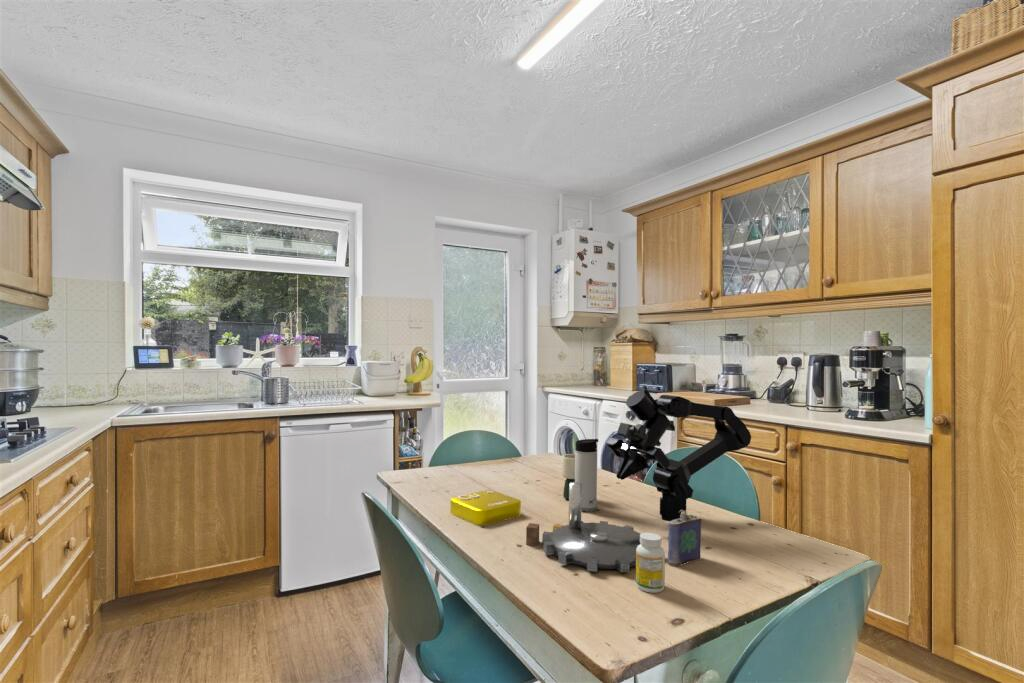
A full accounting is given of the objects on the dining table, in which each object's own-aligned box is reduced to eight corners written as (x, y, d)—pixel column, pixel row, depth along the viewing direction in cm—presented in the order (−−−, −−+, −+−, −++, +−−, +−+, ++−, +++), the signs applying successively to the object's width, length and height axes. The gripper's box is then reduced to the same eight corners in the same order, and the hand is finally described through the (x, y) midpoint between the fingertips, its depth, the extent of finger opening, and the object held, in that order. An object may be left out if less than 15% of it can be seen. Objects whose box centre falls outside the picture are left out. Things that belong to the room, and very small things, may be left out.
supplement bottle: (657, 596, 93) (657, 543, 93) (630, 587, 97) (631, 536, 97) (669, 586, 97) (669, 536, 97) (643, 578, 101) (643, 529, 101)
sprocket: (681, 557, 110) (682, 500, 110) (588, 582, 97) (589, 517, 97) (605, 522, 132) (606, 474, 132) (522, 539, 119) (522, 486, 119)
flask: (674, 567, 106) (674, 516, 106) (663, 562, 108) (663, 512, 109) (703, 559, 111) (704, 509, 111) (692, 554, 113) (693, 506, 113)
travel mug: (597, 513, 141) (598, 441, 142) (573, 511, 143) (574, 440, 143) (598, 506, 148) (598, 437, 148) (575, 504, 149) (576, 436, 149)
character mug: (594, 501, 152) (594, 458, 152) (574, 505, 149) (575, 460, 149) (572, 492, 162) (572, 451, 162) (553, 495, 158) (554, 453, 158)
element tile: (480, 528, 129) (480, 509, 129) (447, 513, 140) (447, 496, 140) (523, 516, 139) (523, 498, 139) (489, 503, 150) (489, 487, 150)
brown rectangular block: (539, 541, 120) (539, 524, 120) (536, 545, 117) (536, 528, 117) (529, 539, 120) (529, 523, 120) (526, 544, 117) (526, 527, 117)
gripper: (611, 408, 141) (579, 451, 136) (661, 416, 125) (627, 465, 119) (632, 434, 145) (602, 477, 139) (684, 445, 129) (651, 494, 123)
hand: (619, 478), depth 130 cm, fingers closed
